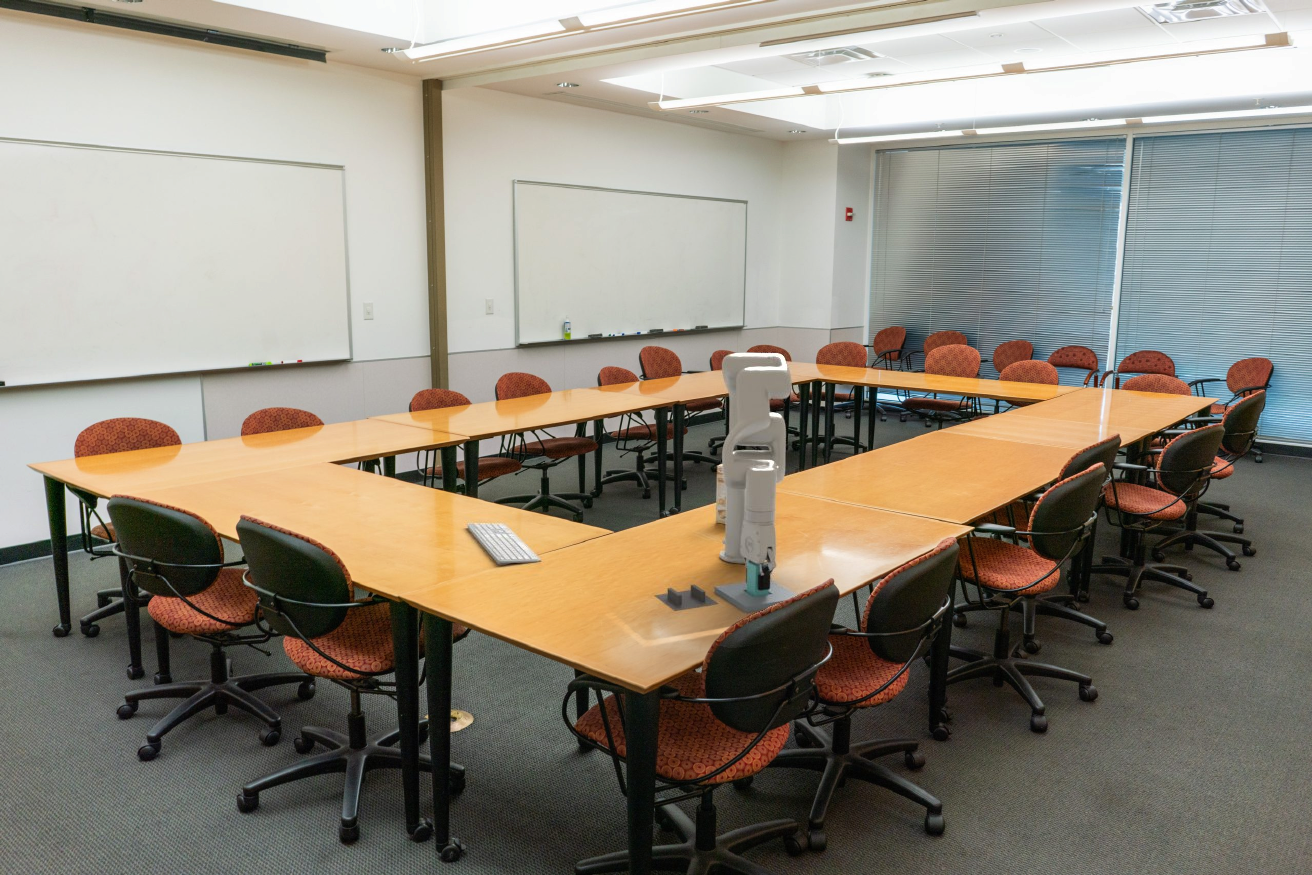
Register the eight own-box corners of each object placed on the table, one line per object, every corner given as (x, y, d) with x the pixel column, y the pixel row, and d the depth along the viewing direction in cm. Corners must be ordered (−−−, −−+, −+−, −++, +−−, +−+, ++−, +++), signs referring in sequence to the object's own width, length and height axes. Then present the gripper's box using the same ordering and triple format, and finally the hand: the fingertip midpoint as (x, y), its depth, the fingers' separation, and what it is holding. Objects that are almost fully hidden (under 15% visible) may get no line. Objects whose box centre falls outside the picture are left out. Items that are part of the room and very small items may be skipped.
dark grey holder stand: (654, 599, 233) (654, 585, 232) (696, 592, 238) (696, 579, 237) (675, 614, 222) (675, 600, 222) (718, 607, 227) (719, 594, 227)
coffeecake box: (733, 525, 304) (735, 467, 300) (714, 522, 307) (715, 465, 304) (753, 516, 316) (755, 460, 313) (735, 513, 320) (736, 458, 316)
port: (714, 595, 236) (714, 586, 235) (767, 587, 242) (768, 578, 242) (746, 616, 221) (746, 606, 221) (802, 607, 228) (802, 597, 228)
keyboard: (541, 563, 264) (541, 555, 263) (498, 568, 259) (498, 560, 258) (504, 525, 304) (504, 518, 303) (466, 529, 299) (466, 522, 298)
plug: (746, 600, 233) (747, 561, 231) (759, 597, 235) (760, 559, 233) (754, 605, 229) (755, 566, 228) (768, 602, 231) (769, 564, 229)
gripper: (729, 509, 234) (728, 578, 237) (764, 525, 219) (762, 598, 222) (755, 506, 237) (753, 574, 240) (791, 522, 222) (789, 594, 225)
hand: (757, 585), depth 231 cm, fingers open, 5 cm apart
